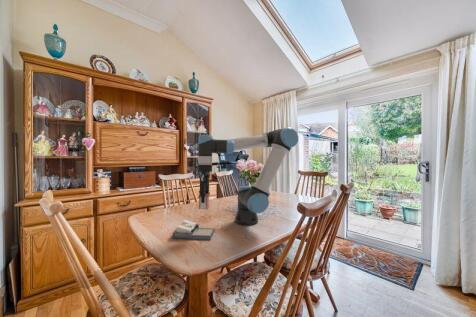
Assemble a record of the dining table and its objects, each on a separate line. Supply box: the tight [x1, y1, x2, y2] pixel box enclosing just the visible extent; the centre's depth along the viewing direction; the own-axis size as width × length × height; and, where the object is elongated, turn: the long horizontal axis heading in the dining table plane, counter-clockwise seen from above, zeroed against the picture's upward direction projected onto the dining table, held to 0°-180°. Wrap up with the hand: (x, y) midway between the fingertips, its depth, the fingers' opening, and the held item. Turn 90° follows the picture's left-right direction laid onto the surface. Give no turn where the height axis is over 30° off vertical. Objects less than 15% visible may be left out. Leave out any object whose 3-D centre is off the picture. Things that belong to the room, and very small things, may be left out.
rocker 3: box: [180, 223, 194, 230], centre depth 109 cm, size 7×3×3 cm, turn 86°
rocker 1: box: [175, 224, 192, 233], centre depth 105 cm, size 7×3×3 cm, turn 86°
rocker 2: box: [181, 219, 197, 229], centre depth 113 cm, size 7×3×3 cm, turn 86°
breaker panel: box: [171, 223, 216, 241], centre depth 109 cm, size 20×13×3 cm, turn 86°
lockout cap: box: [198, 193, 211, 210], centre depth 108 cm, size 5×5×7 cm
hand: (204, 207), depth 108 cm, fingers closed on lockout cap, 5 cm apart
